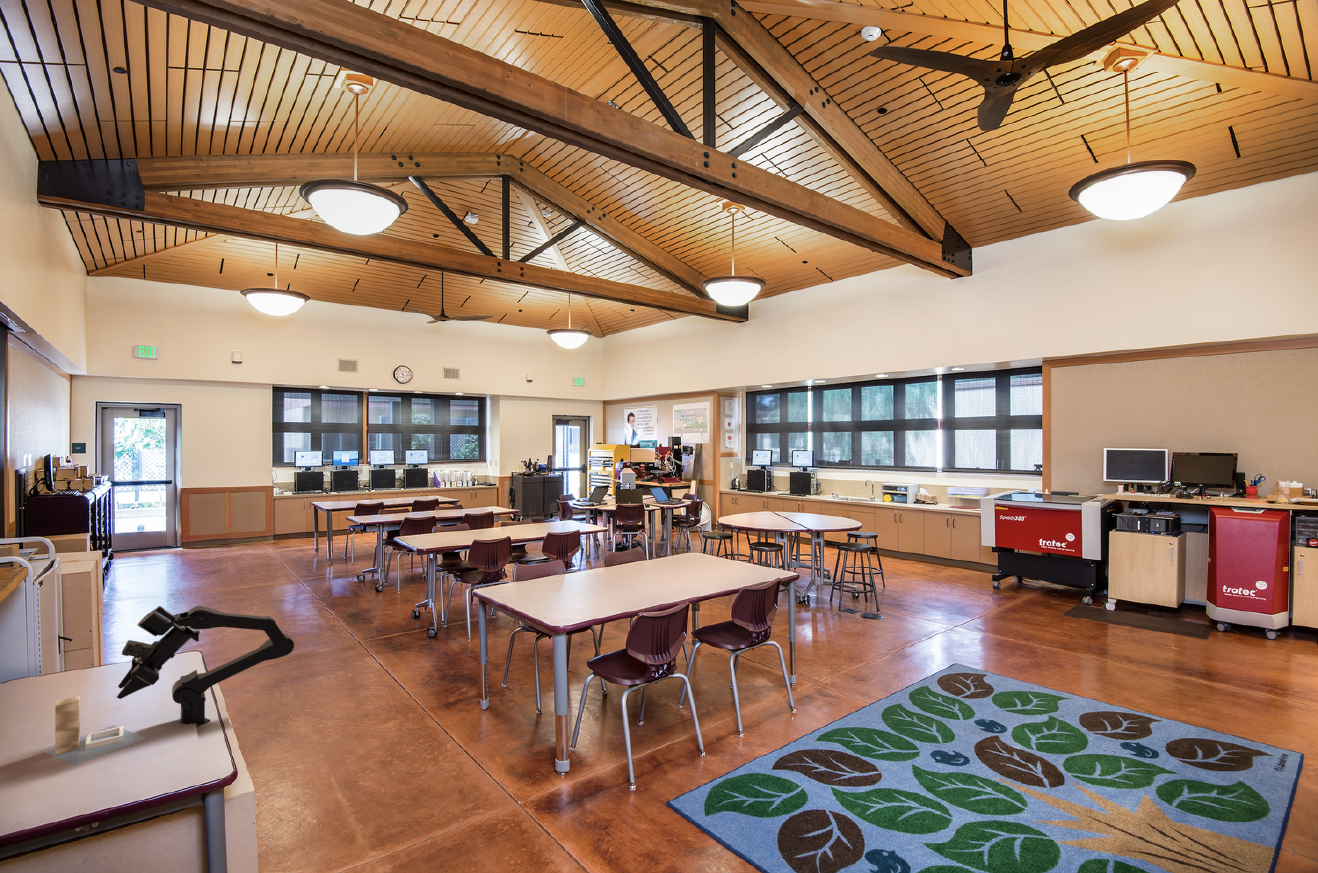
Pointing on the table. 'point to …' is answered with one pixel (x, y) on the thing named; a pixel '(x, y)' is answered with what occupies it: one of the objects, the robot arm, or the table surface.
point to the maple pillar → (67, 725)
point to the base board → (85, 755)
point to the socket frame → (104, 741)
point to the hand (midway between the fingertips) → (118, 692)
